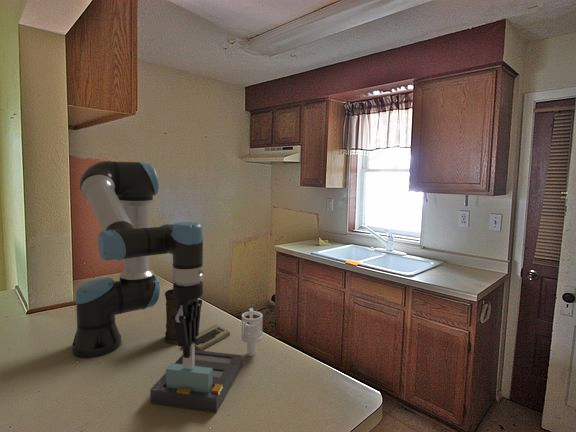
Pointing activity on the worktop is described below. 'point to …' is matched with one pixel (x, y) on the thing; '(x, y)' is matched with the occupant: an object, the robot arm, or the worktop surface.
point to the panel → (189, 378)
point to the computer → (210, 337)
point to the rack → (223, 379)
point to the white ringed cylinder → (252, 330)
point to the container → (170, 311)
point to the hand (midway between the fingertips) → (188, 366)
